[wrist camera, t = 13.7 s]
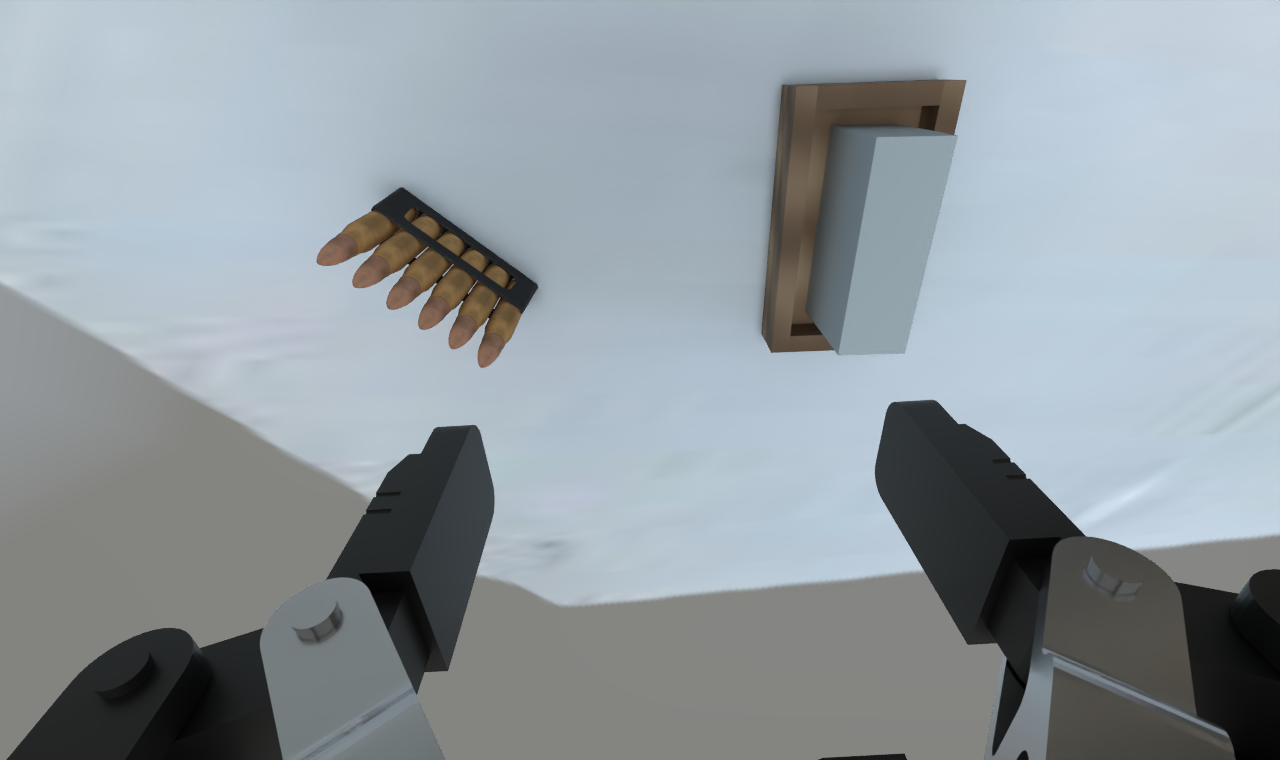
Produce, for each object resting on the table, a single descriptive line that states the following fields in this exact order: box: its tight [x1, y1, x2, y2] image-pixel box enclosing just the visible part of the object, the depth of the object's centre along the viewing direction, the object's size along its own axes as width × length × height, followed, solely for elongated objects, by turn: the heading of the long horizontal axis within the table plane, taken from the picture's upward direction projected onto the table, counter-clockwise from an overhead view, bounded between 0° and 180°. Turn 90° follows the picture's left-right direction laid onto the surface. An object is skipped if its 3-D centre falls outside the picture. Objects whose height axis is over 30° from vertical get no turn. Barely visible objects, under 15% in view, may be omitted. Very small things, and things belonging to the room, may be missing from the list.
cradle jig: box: [762, 80, 966, 353], centre depth 36 cm, size 16×9×3 cm, turn 2°
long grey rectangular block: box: [805, 124, 957, 355], centre depth 33 cm, size 12×4×7 cm, turn 1°
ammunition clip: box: [317, 188, 538, 368], centre depth 32 cm, size 11×2×12 cm, turn 51°
